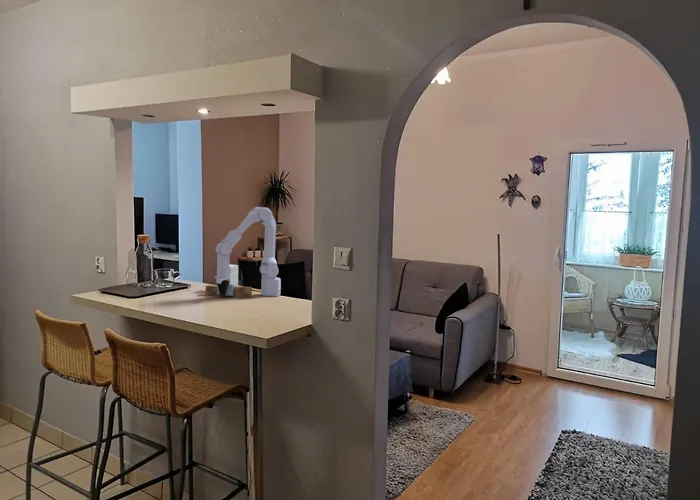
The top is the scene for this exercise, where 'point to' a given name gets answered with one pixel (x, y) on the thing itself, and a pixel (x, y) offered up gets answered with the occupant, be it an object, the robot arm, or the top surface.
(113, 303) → the top surface
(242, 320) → the top surface
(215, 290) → the beige wooden bar
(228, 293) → the cabinet block
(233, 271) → the small box
